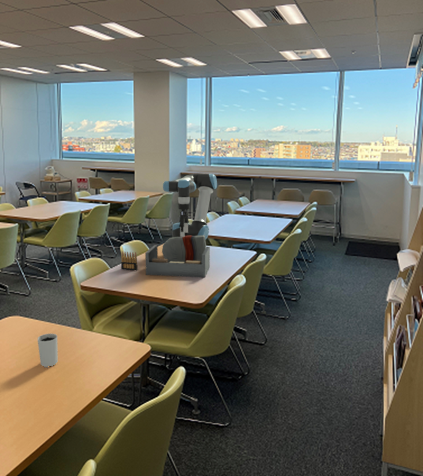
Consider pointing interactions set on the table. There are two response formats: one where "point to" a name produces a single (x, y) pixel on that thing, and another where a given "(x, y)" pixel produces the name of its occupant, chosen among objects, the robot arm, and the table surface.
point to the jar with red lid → (184, 248)
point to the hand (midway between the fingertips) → (184, 234)
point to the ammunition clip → (129, 261)
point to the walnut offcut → (160, 260)
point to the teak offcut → (194, 262)
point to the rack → (176, 265)
